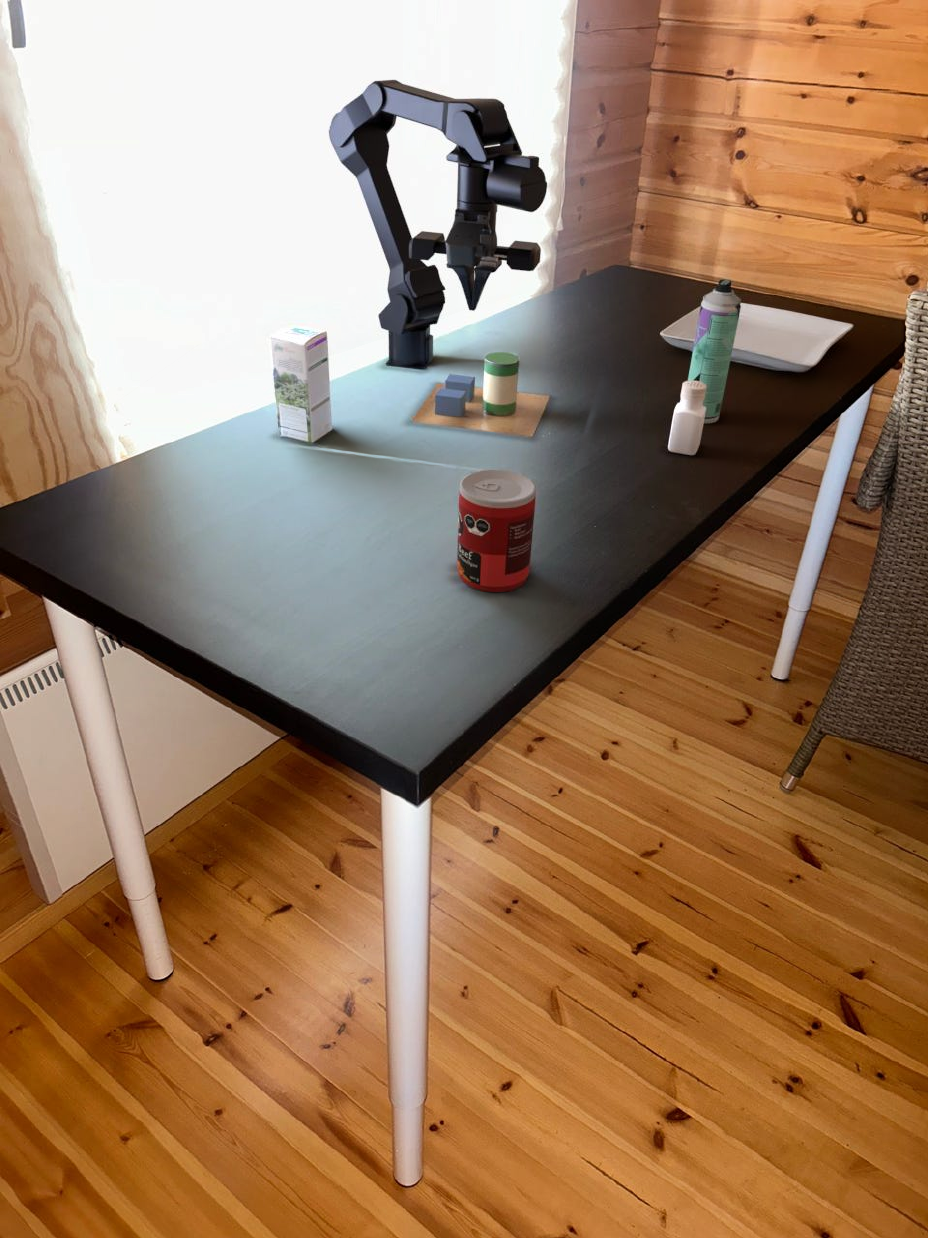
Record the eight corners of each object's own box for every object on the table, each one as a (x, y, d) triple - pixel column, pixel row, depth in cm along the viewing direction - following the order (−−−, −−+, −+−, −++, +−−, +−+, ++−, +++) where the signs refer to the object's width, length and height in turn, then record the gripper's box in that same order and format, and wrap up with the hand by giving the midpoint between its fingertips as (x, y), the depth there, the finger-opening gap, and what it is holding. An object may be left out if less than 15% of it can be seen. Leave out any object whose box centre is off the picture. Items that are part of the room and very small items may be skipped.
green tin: (453, 385, 139) (499, 346, 134) (461, 373, 143) (506, 335, 138) (494, 432, 141) (540, 395, 137) (501, 419, 146) (546, 383, 141)
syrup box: (334, 430, 135) (329, 329, 127) (311, 446, 130) (304, 341, 122) (299, 422, 137) (292, 322, 128) (276, 437, 132) (267, 334, 124)
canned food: (454, 557, 107) (456, 469, 101) (523, 556, 108) (530, 468, 102) (459, 594, 101) (462, 502, 95) (533, 593, 102) (541, 502, 96)
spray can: (716, 410, 146) (742, 276, 134) (720, 424, 141) (748, 287, 130) (680, 407, 146) (703, 274, 135) (683, 422, 142) (707, 285, 130)
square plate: (850, 342, 175) (856, 321, 172) (808, 386, 155) (814, 363, 153) (709, 314, 186) (713, 294, 184) (654, 352, 167) (657, 330, 165)
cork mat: (410, 423, 138) (410, 421, 138) (437, 384, 151) (437, 382, 150) (532, 439, 135) (532, 436, 135) (550, 398, 148) (550, 395, 147)
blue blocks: (434, 414, 140) (434, 394, 138) (449, 392, 147) (449, 373, 145) (460, 417, 139) (461, 398, 138) (474, 395, 147) (475, 376, 145)
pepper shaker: (666, 452, 133) (677, 387, 127) (671, 441, 136) (682, 377, 130) (695, 457, 132) (707, 391, 126) (699, 446, 135) (711, 381, 129)
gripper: (396, 204, 131) (397, 318, 140) (530, 217, 127) (521, 333, 136) (420, 189, 139) (419, 297, 148) (545, 201, 136) (536, 310, 145)
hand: (472, 309), depth 144 cm, fingers closed
